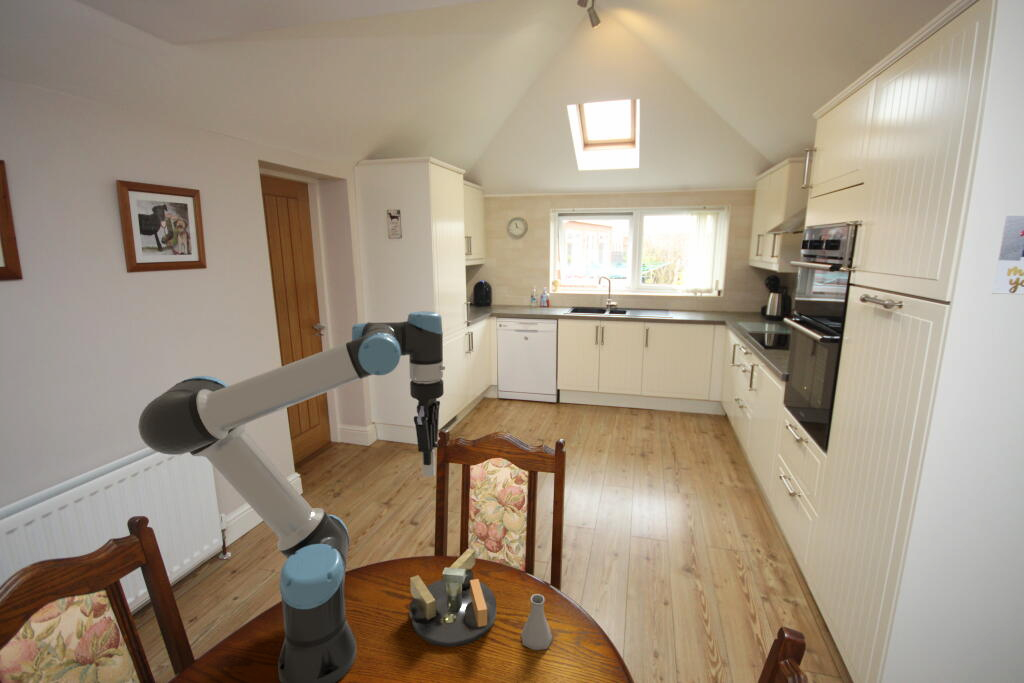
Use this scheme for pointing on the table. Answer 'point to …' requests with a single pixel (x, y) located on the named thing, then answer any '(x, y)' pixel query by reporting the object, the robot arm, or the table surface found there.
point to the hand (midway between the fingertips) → (429, 475)
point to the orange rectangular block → (477, 608)
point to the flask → (536, 626)
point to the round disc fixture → (448, 605)
